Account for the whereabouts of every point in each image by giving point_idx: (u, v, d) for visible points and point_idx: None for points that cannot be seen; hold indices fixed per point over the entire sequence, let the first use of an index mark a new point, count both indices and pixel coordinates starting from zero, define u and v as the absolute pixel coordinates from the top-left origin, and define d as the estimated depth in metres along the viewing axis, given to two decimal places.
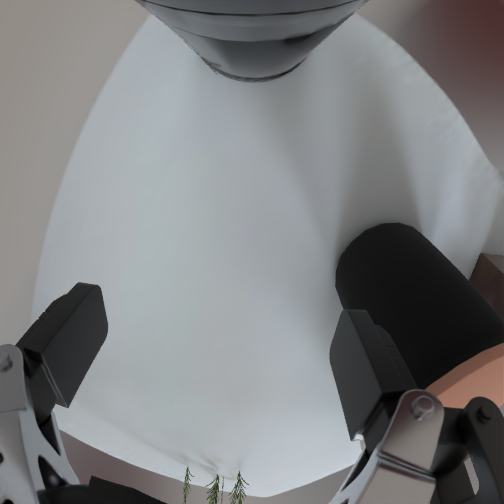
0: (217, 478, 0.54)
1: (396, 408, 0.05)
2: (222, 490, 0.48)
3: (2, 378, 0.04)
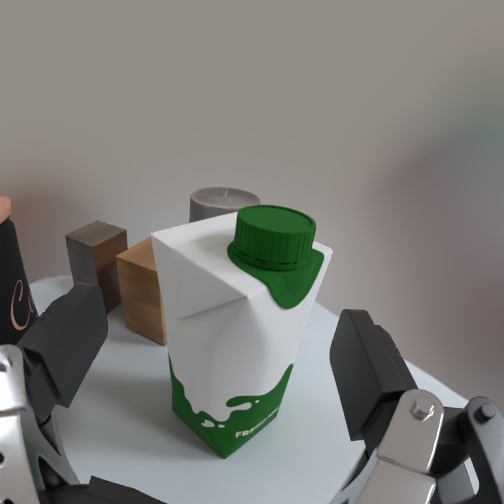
0: None
1: (396, 408, 0.05)
2: None
3: (3, 379, 0.04)
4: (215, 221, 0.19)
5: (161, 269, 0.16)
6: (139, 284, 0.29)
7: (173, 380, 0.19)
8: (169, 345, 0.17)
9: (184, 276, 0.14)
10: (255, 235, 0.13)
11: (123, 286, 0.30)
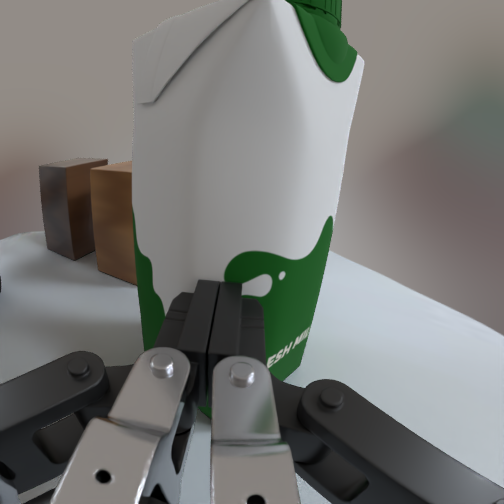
0: None
1: (212, 384, 0.05)
2: None
3: (153, 386, 0.05)
4: None
5: (139, 63, 0.09)
6: (114, 198, 0.22)
7: (137, 265, 0.12)
8: (134, 181, 0.11)
9: (171, 34, 0.08)
10: None
11: (96, 208, 0.23)
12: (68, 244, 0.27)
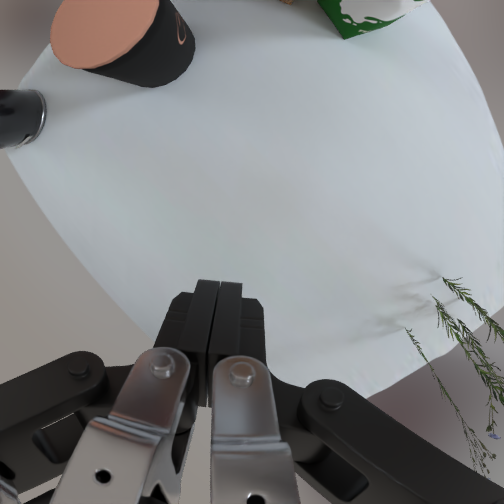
0: (438, 308, 0.46)
1: (212, 384, 0.05)
2: (442, 309, 0.41)
3: (153, 386, 0.05)
4: None
5: None
6: None
7: None
8: None
9: None
10: None
11: None
12: None
